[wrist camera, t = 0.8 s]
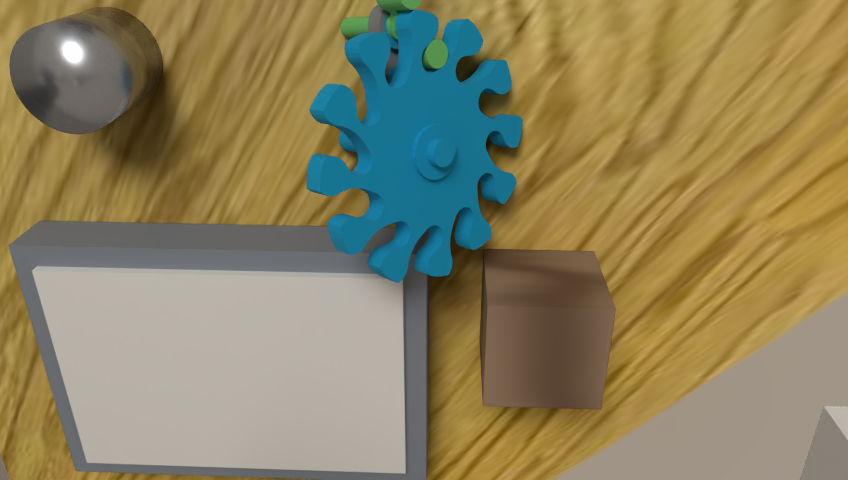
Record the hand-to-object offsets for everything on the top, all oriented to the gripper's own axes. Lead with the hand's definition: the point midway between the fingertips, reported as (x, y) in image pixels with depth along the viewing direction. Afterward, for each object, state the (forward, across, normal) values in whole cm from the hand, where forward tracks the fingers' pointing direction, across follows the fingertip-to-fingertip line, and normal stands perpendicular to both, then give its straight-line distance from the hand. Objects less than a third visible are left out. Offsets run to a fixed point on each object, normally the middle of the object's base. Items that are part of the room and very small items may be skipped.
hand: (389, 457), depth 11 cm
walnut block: (+20, +5, -9) cm, 23 cm away
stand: (+20, -9, -12) cm, 25 cm away
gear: (+20, 0, 0) cm, 20 cm away
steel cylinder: (+20, -13, +2) cm, 24 cm away
